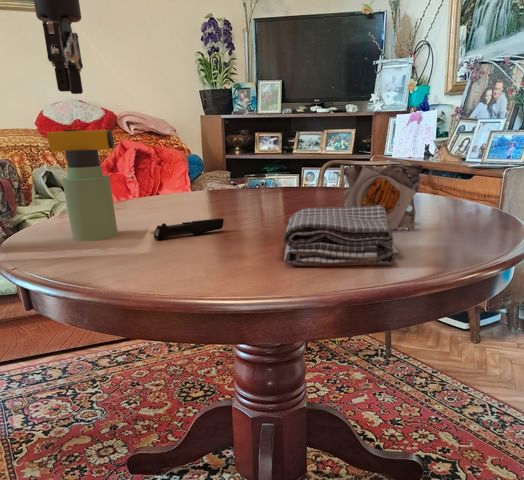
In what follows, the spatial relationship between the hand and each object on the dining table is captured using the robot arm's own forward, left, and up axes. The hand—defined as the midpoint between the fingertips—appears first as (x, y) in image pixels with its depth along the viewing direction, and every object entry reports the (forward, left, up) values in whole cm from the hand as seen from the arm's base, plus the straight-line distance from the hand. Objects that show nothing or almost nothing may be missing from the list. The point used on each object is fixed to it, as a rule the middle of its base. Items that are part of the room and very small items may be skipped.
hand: (71, 92), depth 95 cm
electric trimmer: (+19, +3, -28) cm, 34 cm away
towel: (+46, -23, -28) cm, 59 cm away
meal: (+59, -3, -28) cm, 66 cm away
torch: (0, 0, -10) cm, 10 cm away
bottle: (0, 0, -28) cm, 28 cm away
